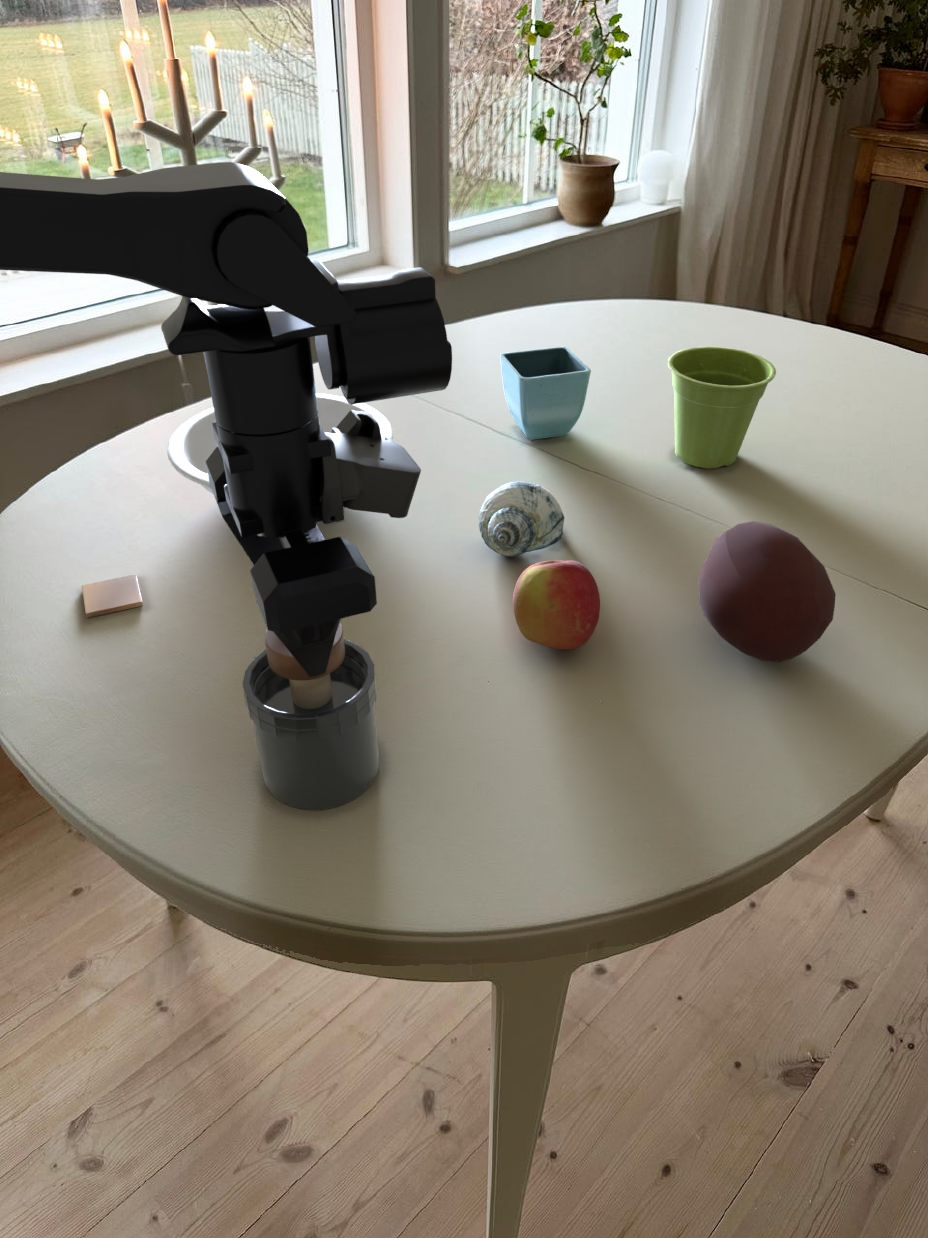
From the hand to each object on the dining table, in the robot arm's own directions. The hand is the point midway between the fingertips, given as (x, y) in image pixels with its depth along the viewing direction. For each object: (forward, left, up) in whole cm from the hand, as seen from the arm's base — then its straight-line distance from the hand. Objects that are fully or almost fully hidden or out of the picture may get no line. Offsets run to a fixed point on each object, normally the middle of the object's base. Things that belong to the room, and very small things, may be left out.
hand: (299, 633), depth 61 cm
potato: (+39, 0, -13) cm, 41 cm away
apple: (+23, +7, -13) cm, 27 cm away
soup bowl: (+8, +43, -13) cm, 46 cm away
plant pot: (+56, +32, -13) cm, 66 cm away
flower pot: (+41, +46, -13) cm, 63 cm away
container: (0, 0, -13) cm, 13 cm away
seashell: (+27, +23, -13) cm, 38 cm away
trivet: (-12, +29, -13) cm, 34 cm away
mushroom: (0, 0, -6) cm, 6 cm away
